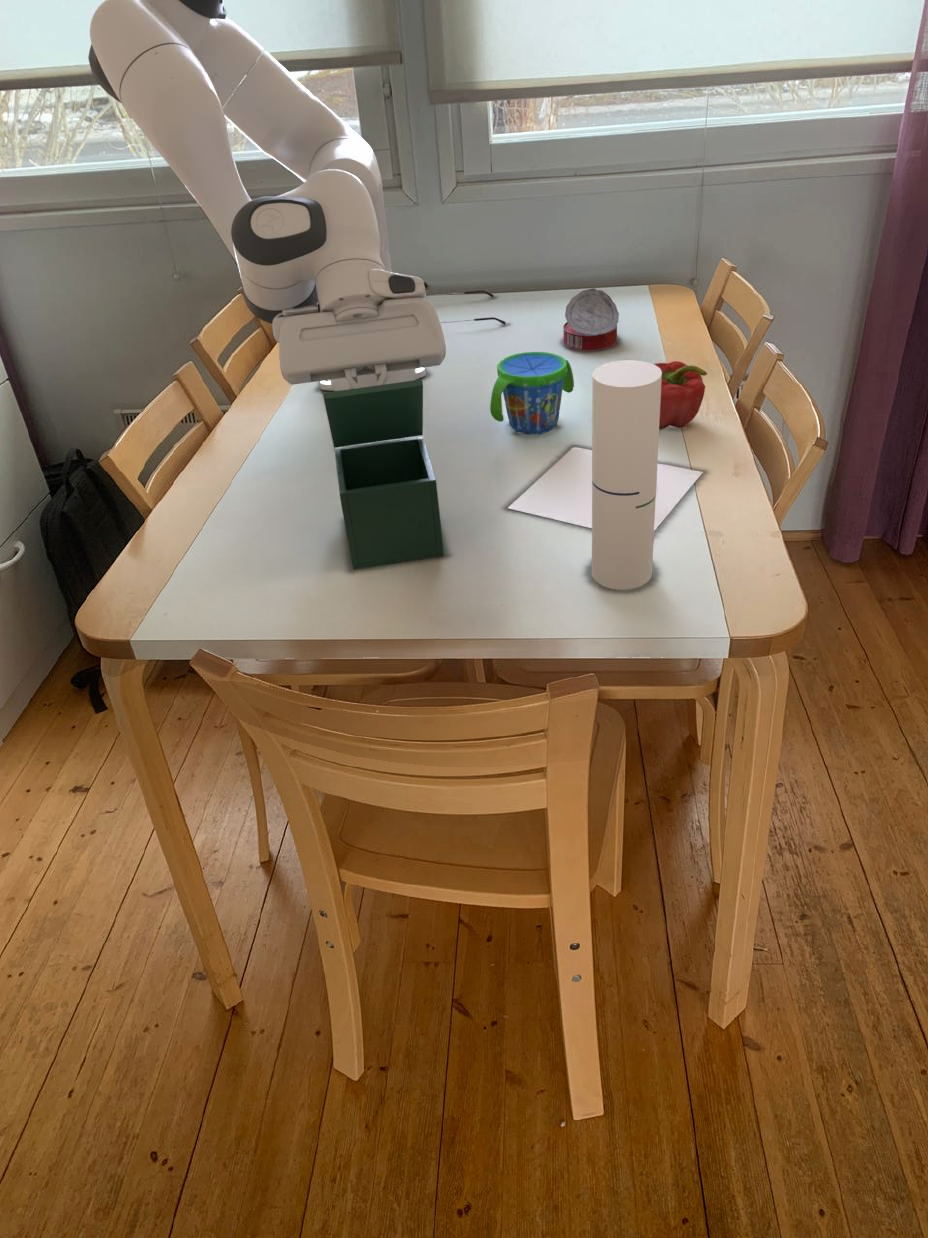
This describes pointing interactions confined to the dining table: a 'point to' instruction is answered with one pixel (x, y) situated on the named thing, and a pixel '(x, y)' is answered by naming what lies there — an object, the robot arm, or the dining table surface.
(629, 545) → the cylindrical container
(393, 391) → the tin lid
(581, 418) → the dining table surface
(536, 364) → the snack cup
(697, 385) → the vegetable
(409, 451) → the dark green hollow box
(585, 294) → the canned food
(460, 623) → the dining table surface
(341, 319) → the robot arm
